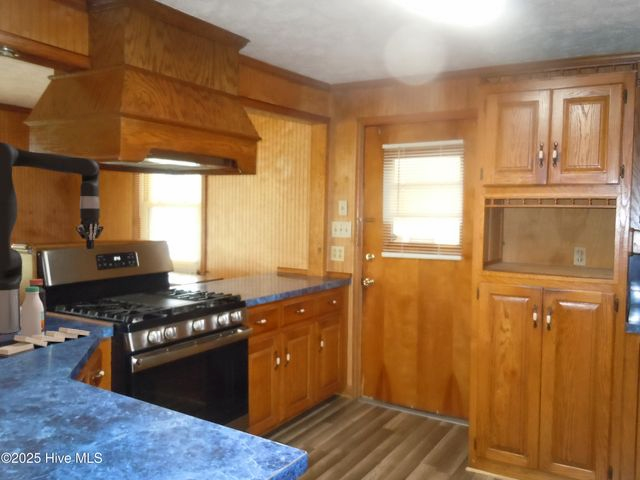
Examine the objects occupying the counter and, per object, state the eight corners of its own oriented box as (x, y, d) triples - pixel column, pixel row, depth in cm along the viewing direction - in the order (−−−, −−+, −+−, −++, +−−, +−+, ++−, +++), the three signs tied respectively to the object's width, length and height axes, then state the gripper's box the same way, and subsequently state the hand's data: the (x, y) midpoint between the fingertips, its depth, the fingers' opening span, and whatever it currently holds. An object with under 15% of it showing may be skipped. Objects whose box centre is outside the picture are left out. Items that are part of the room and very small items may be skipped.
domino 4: (64, 341, 198) (41, 340, 189) (54, 340, 200) (31, 339, 191) (64, 337, 199) (42, 336, 190) (55, 336, 201) (32, 334, 192)
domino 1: (33, 347, 185) (8, 354, 176) (22, 346, 187) (-4, 353, 178) (33, 343, 185) (8, 350, 176) (22, 342, 187) (-4, 348, 178)
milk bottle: (37, 342, 197) (36, 288, 196) (16, 341, 198) (15, 288, 197) (48, 337, 205) (47, 285, 204) (28, 336, 205) (27, 285, 204)
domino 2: (34, 351, 186) (8, 359, 177) (23, 350, 188) (-3, 357, 178) (34, 347, 186) (8, 354, 177) (23, 346, 188) (-3, 352, 178)
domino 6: (88, 335, 208) (67, 332, 200) (80, 334, 210) (58, 331, 202) (89, 331, 208) (68, 328, 200) (81, 330, 211) (59, 327, 202)
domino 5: (77, 338, 204) (54, 336, 195) (68, 337, 206) (45, 335, 197) (78, 334, 204) (55, 332, 195) (69, 332, 206) (46, 330, 198)
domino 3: (46, 346, 191) (24, 341, 182) (35, 345, 192) (13, 339, 184) (47, 342, 191) (26, 336, 183) (36, 340, 193) (15, 335, 184)
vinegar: (29, 325, 225) (28, 278, 224) (47, 324, 227) (46, 278, 226) (26, 329, 219) (25, 280, 218) (44, 328, 221) (43, 280, 220)
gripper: (95, 207, 228) (95, 248, 229) (70, 207, 216) (70, 249, 217) (108, 207, 225) (109, 248, 226) (83, 207, 213) (84, 250, 214)
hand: (90, 249), depth 221 cm, fingers closed
